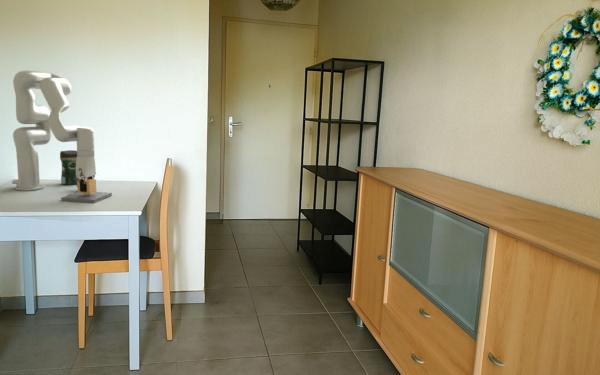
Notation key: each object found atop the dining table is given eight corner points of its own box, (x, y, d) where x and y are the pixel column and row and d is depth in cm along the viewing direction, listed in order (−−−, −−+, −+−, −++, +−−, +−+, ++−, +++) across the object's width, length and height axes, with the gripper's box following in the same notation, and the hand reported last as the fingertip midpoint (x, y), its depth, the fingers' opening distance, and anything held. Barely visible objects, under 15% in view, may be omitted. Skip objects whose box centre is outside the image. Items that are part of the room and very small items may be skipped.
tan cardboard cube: (77, 193, 223) (77, 180, 222) (84, 190, 229) (84, 178, 228) (89, 193, 223) (89, 181, 222) (96, 191, 229) (96, 179, 228)
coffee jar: (76, 181, 265) (75, 149, 262) (83, 184, 260) (81, 150, 256) (59, 183, 258) (57, 150, 254) (64, 185, 253) (63, 151, 249)
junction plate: (61, 200, 219) (60, 187, 218) (81, 193, 236) (81, 181, 234) (93, 203, 218) (93, 189, 216) (111, 195, 234) (111, 183, 233)
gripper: (88, 150, 231) (89, 186, 235) (67, 154, 214) (69, 193, 218) (102, 151, 231) (103, 187, 234) (83, 155, 214) (84, 194, 217)
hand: (87, 190), depth 226 cm, fingers closed on tan cardboard cube, 5 cm apart
